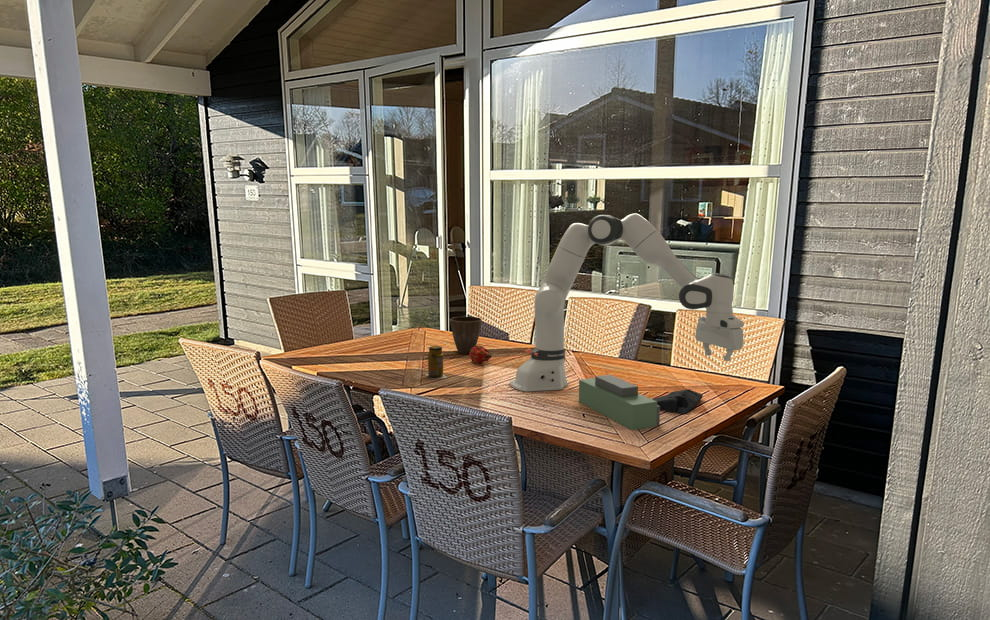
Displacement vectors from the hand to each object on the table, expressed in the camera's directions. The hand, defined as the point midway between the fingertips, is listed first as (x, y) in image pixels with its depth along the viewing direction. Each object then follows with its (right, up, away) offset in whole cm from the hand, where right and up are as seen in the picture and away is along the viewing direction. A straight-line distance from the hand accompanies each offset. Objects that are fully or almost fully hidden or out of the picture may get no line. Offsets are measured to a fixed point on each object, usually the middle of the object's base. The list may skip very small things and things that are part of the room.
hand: (717, 357), depth 227 cm
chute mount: (-38, -17, -14) cm, 44 cm away
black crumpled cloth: (-15, -16, -3) cm, 23 cm away
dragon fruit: (-85, -7, +56) cm, 102 cm away
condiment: (-103, -10, +33) cm, 109 cm away
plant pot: (-93, -3, +77) cm, 121 cm away
